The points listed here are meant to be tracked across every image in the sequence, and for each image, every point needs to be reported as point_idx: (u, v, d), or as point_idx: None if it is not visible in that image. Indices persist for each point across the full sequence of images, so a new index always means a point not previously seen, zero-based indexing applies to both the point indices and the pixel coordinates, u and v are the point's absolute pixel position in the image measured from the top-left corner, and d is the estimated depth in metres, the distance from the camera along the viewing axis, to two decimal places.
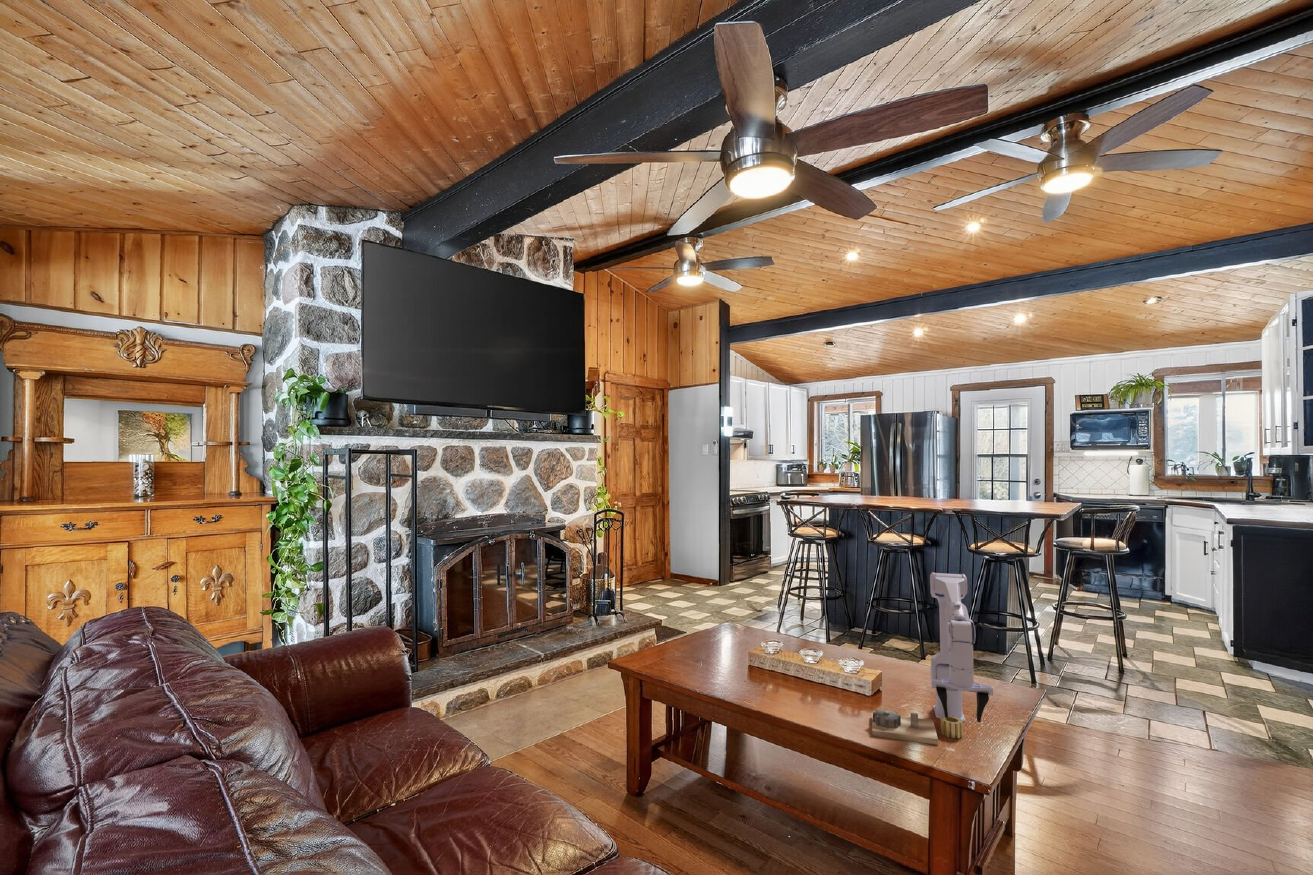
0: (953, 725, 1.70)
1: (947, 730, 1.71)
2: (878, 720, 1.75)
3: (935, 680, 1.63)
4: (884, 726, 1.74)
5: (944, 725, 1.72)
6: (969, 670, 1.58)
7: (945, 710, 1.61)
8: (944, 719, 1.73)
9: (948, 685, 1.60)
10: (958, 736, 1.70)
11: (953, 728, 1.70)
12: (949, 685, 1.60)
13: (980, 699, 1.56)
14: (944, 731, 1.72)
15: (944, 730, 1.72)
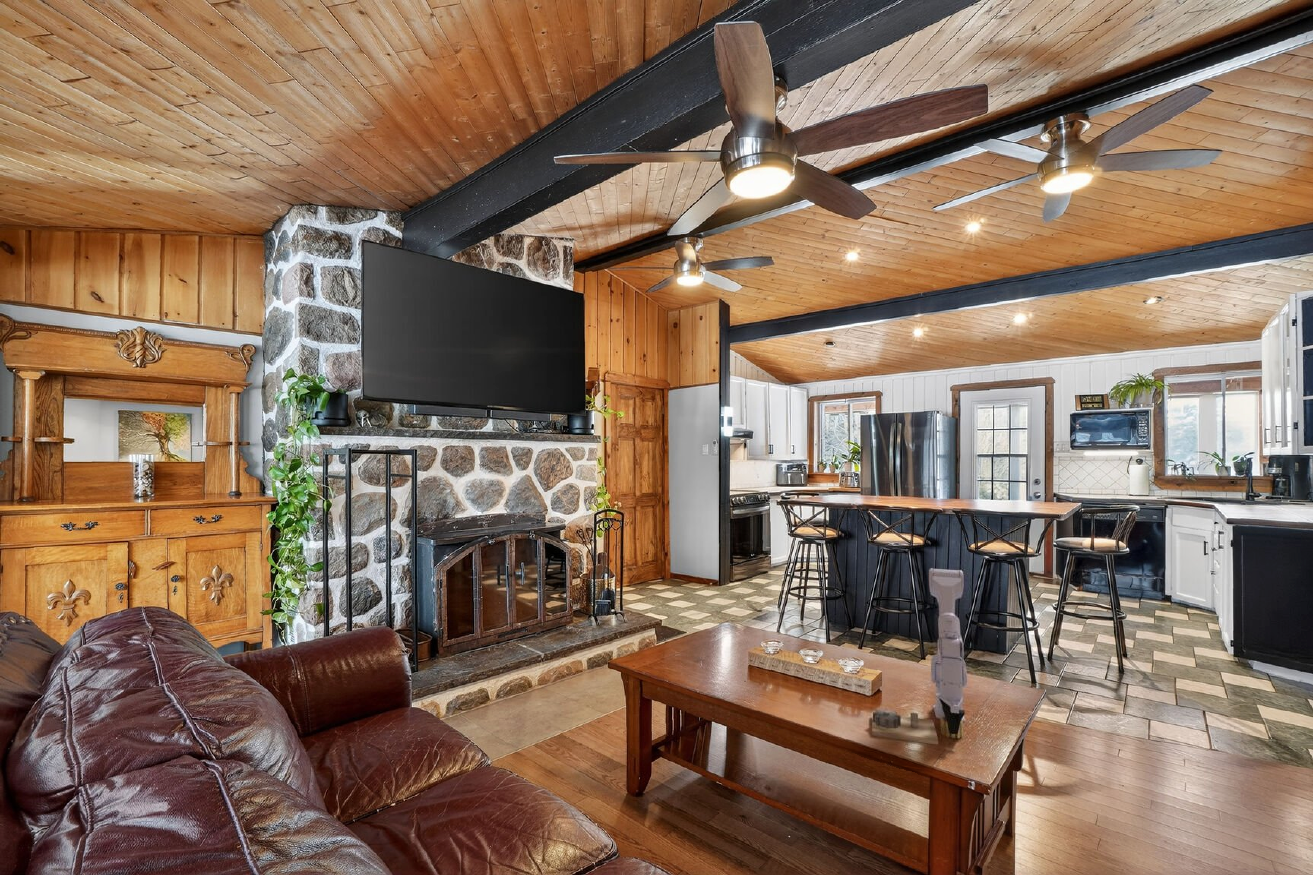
0: None
1: (947, 730, 1.71)
2: (878, 720, 1.75)
3: None
4: (884, 726, 1.74)
5: (944, 725, 1.72)
6: (943, 682, 1.73)
7: None
8: (944, 719, 1.73)
9: None
10: (958, 736, 1.70)
11: None
12: None
13: (942, 709, 1.71)
14: (944, 731, 1.72)
15: (944, 730, 1.72)
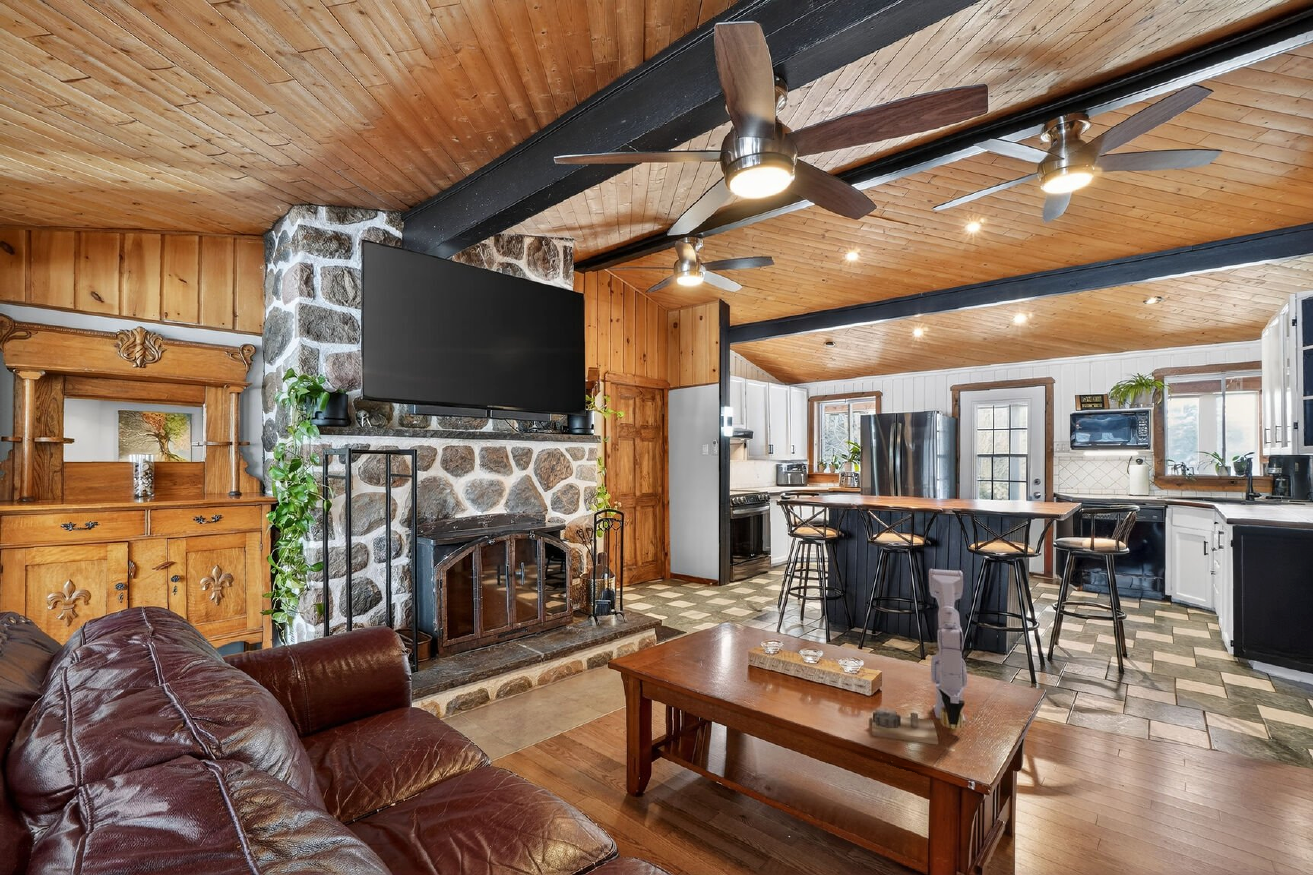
0: None
1: (947, 721, 1.71)
2: (878, 720, 1.75)
3: None
4: (884, 726, 1.74)
5: (944, 716, 1.72)
6: (942, 672, 1.73)
7: None
8: (944, 710, 1.73)
9: None
10: (958, 726, 1.70)
11: None
12: None
13: (942, 699, 1.71)
14: (944, 722, 1.72)
15: (944, 721, 1.72)
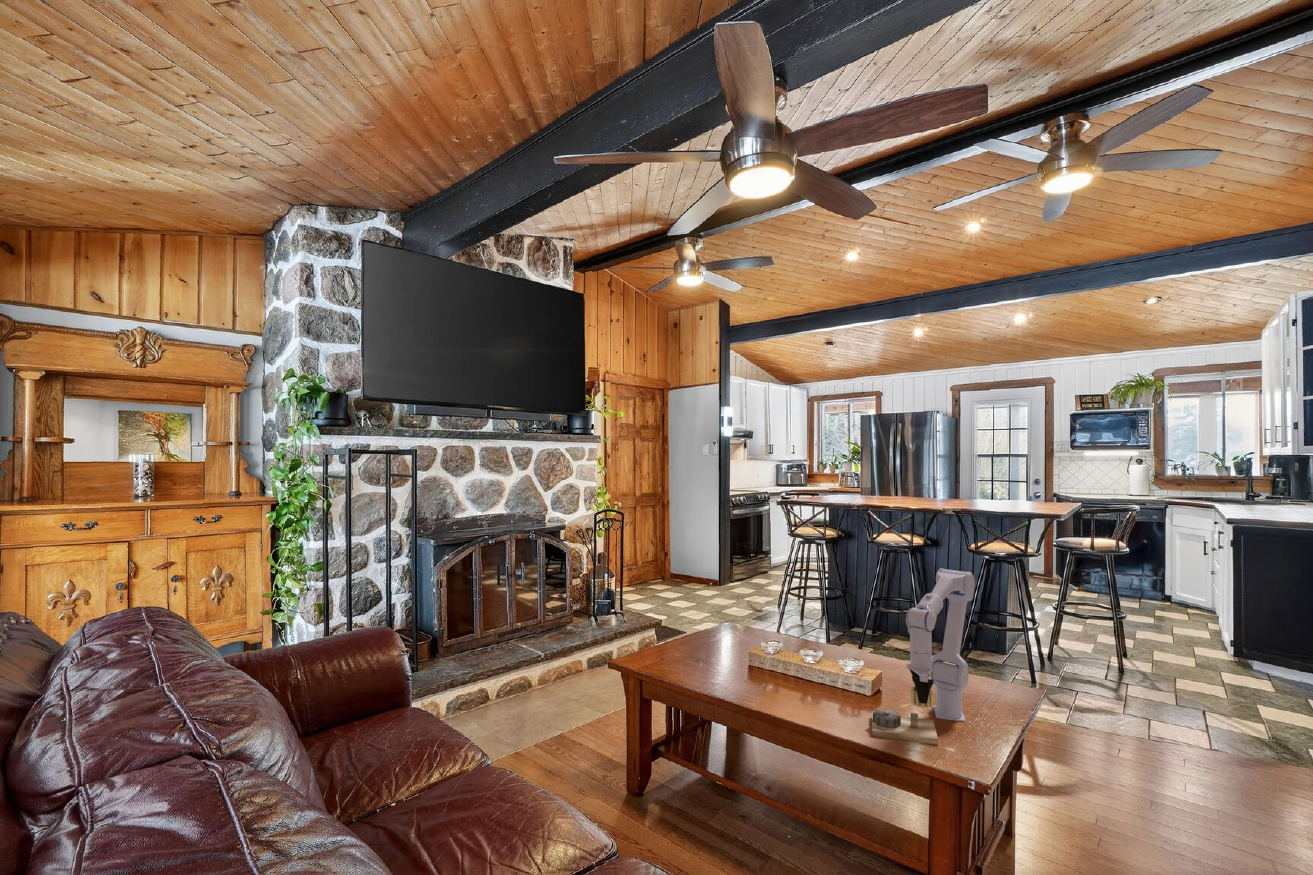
0: None
1: (917, 700, 1.72)
2: (878, 720, 1.75)
3: None
4: (884, 726, 1.74)
5: (914, 695, 1.73)
6: (913, 652, 1.74)
7: None
8: (914, 689, 1.74)
9: None
10: (928, 705, 1.71)
11: None
12: None
13: (912, 678, 1.72)
14: (914, 701, 1.73)
15: (914, 700, 1.73)
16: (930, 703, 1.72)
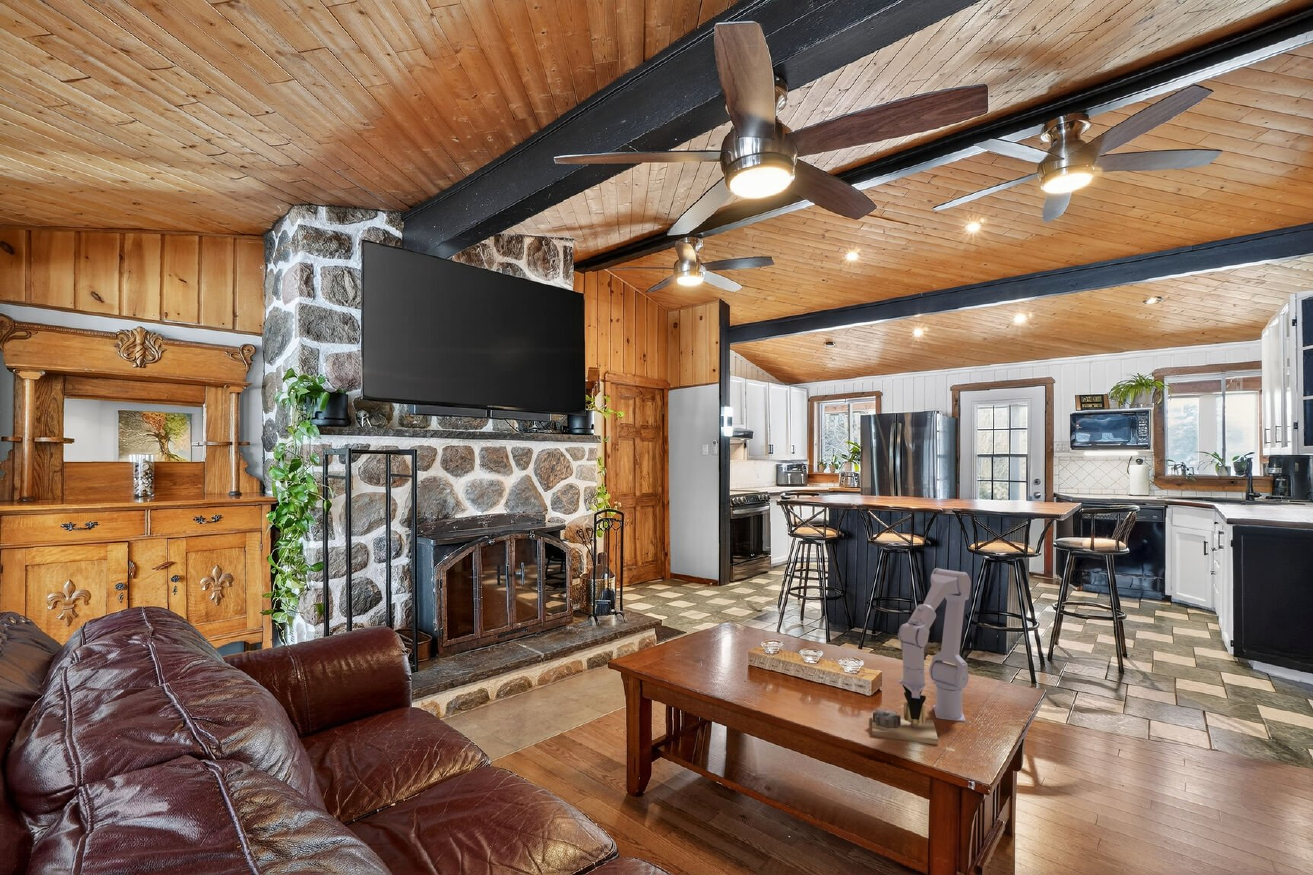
0: None
1: (909, 715, 1.73)
2: (878, 720, 1.75)
3: None
4: (884, 726, 1.74)
5: (906, 711, 1.74)
6: (905, 668, 1.74)
7: None
8: (907, 705, 1.75)
9: None
10: (920, 721, 1.72)
11: None
12: None
13: None
14: (906, 717, 1.74)
15: (906, 716, 1.74)
16: (922, 719, 1.72)
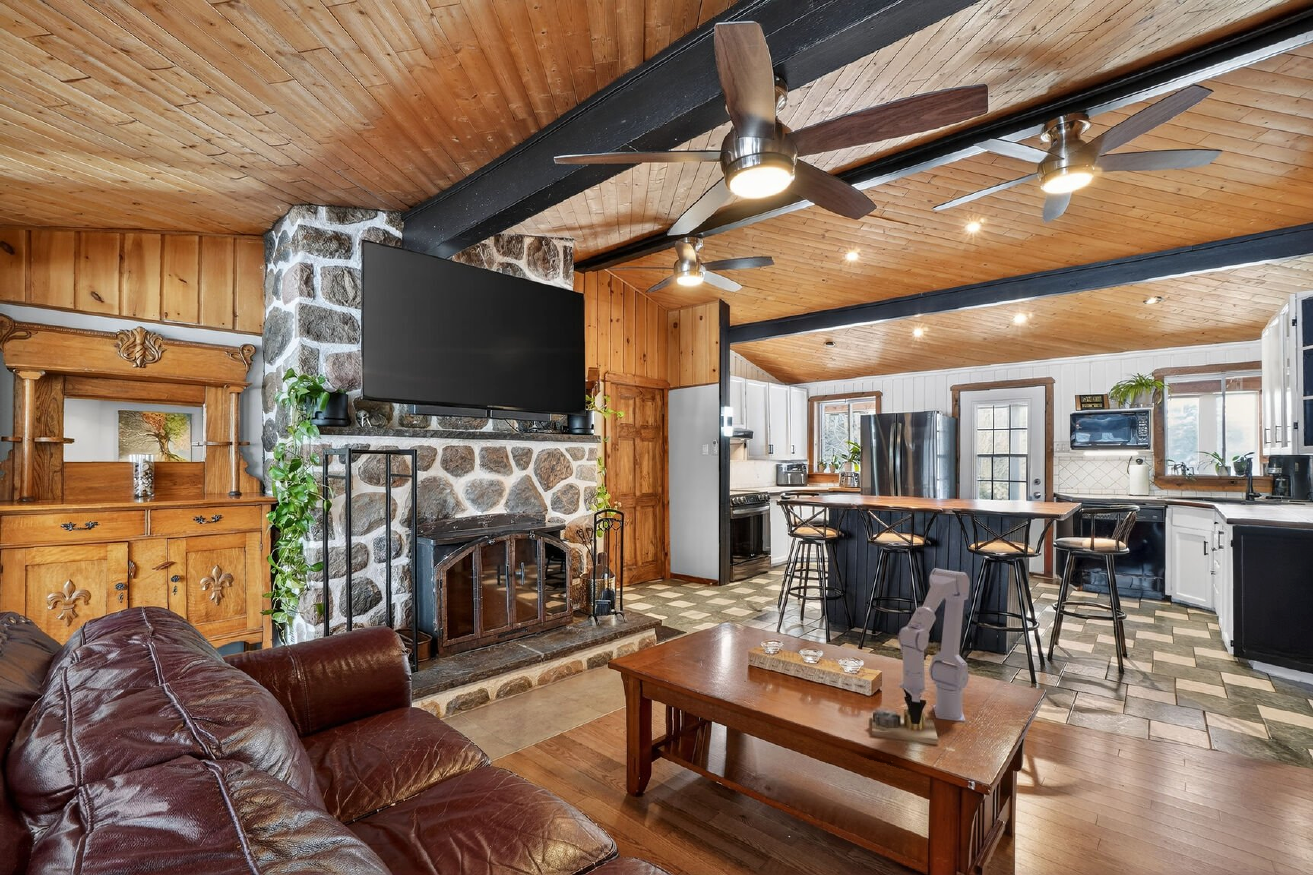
0: None
1: (909, 723, 1.72)
2: (878, 720, 1.75)
3: None
4: (884, 726, 1.74)
5: (906, 718, 1.73)
6: (905, 671, 1.74)
7: None
8: (907, 712, 1.75)
9: None
10: (920, 729, 1.72)
11: None
12: None
13: None
14: (906, 724, 1.73)
15: (906, 723, 1.73)
16: (922, 726, 1.72)
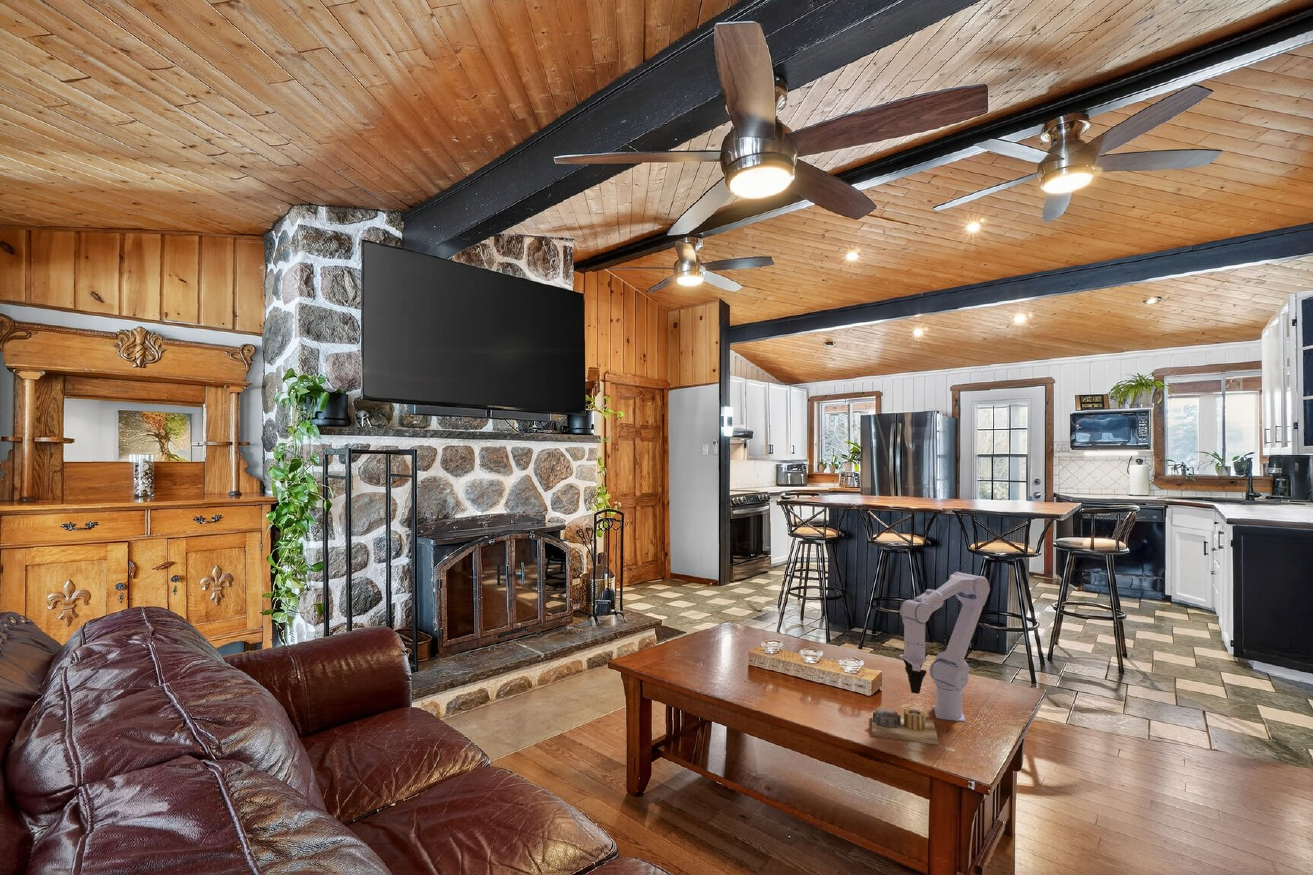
0: (915, 718, 1.72)
1: (909, 723, 1.72)
2: (878, 720, 1.75)
3: None
4: (884, 726, 1.74)
5: (906, 718, 1.73)
6: (906, 642, 1.79)
7: (908, 676, 1.84)
8: (907, 712, 1.75)
9: None
10: (920, 729, 1.72)
11: (915, 720, 1.72)
12: None
13: None
14: (906, 724, 1.73)
15: (906, 723, 1.73)
16: (922, 726, 1.72)
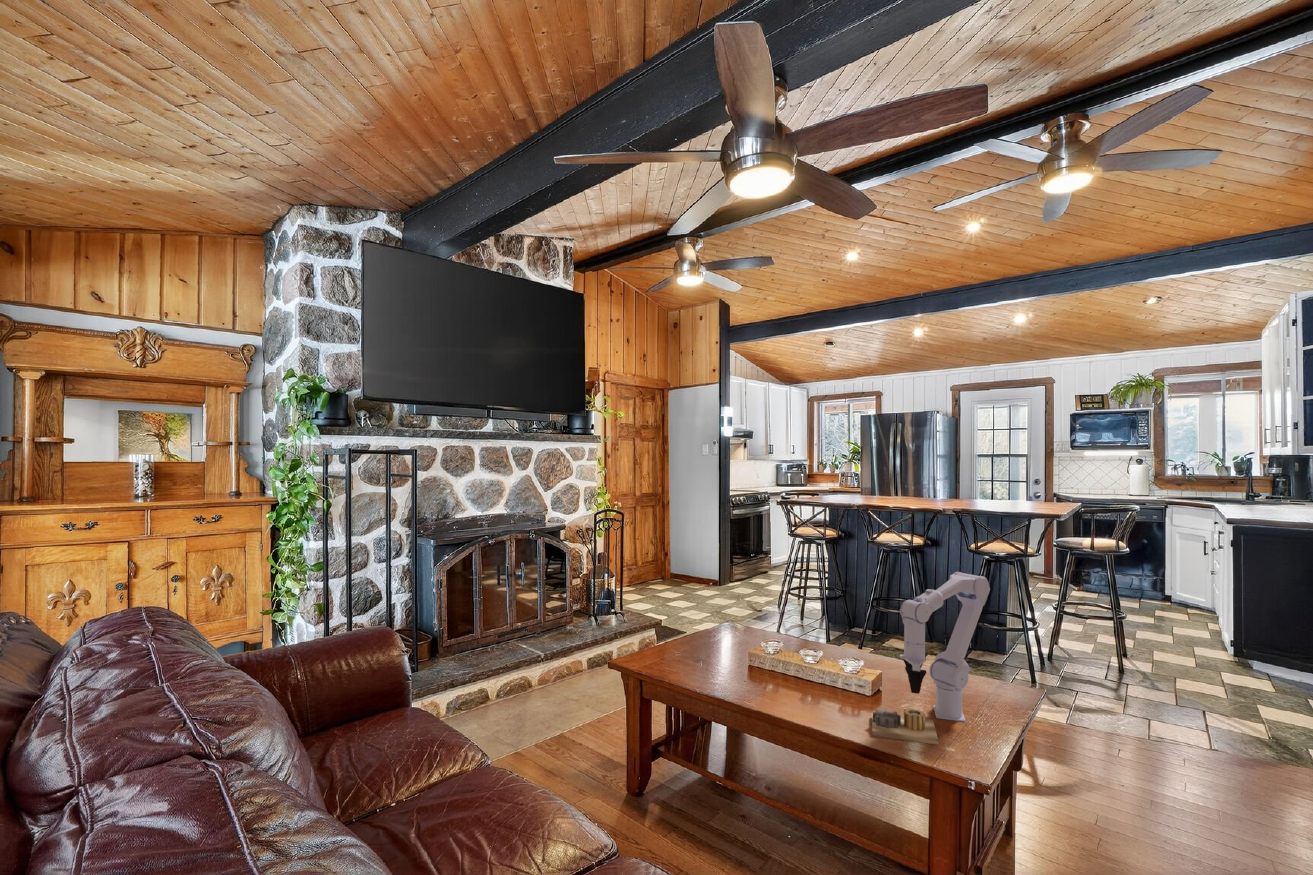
0: (915, 718, 1.72)
1: (909, 723, 1.72)
2: (878, 720, 1.75)
3: None
4: (884, 726, 1.74)
5: (906, 718, 1.73)
6: (906, 642, 1.79)
7: (908, 676, 1.84)
8: (907, 712, 1.75)
9: None
10: (920, 729, 1.72)
11: (915, 720, 1.72)
12: None
13: None
14: (906, 724, 1.73)
15: (906, 723, 1.73)
16: (922, 726, 1.72)
